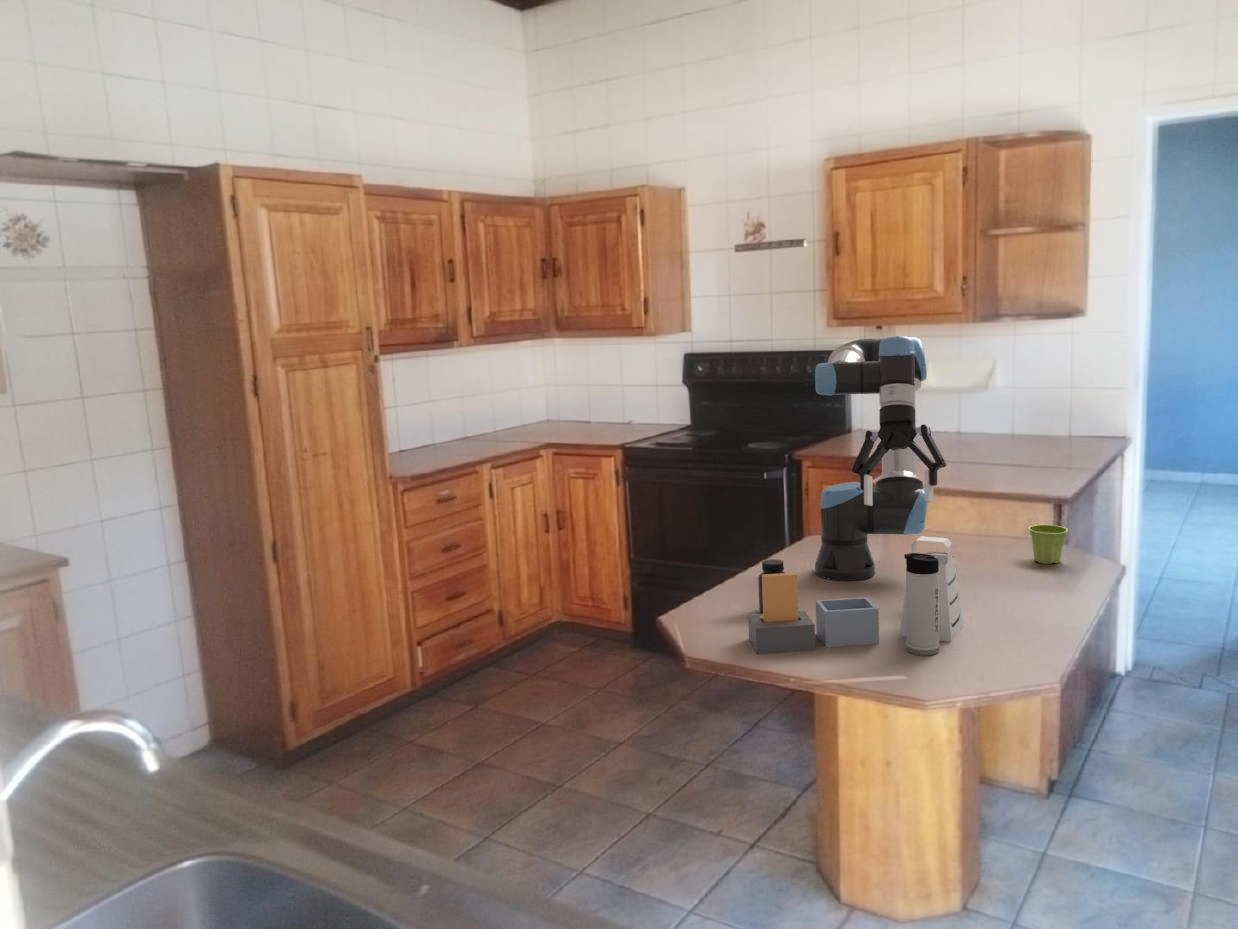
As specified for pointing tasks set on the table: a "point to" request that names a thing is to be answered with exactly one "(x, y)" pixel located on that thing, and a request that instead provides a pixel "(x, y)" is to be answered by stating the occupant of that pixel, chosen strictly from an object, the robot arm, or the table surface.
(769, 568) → the supplement bottle
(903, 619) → the grater
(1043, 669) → the table surface
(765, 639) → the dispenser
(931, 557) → the travel mug
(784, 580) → the orange rectangular block
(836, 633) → the bin
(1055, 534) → the plant pot
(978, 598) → the table surface
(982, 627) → the table surface
